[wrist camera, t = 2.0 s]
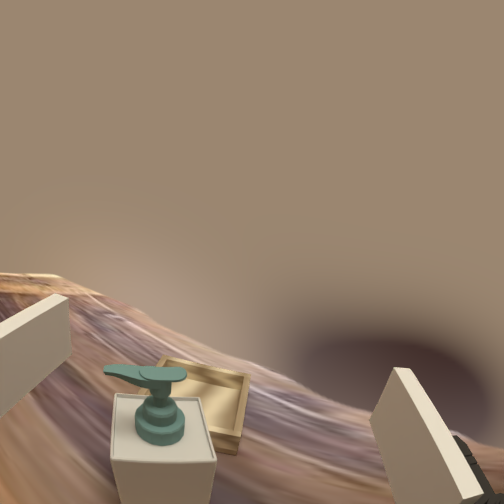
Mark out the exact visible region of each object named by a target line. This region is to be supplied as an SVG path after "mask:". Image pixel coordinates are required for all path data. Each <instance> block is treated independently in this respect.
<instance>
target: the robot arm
mask: <svg viewBox="0 0 504 504" xmlns="http://www.w3.org/2000/svg"><path fill="white" fill-rule="evenodd" d="M71 355H72V347H71V336H70V321H69V298H67V297H64V296H61V295H59V294H56V293H55V294H53V295H51V296H49V297H47V298H45V299H43V300H41V301H40V302H38V303H36V304H34V305H32V306H30V307H28V308H27V309H25V310H23V311H21V312H19V313H17V314H16V315H14V316H12V317H10V318H8V319H7V320H5V321H3V322H1V323H0V418H1V417H2V416H3V415H4V414H6V413H7V412H8V411H9V410H10V409H11V408H12V407H13V406H14V405H15V404H16V403H18V402H19V401H20V400H21V399H22V398H23V397H24V396H25V395H26V394H27V393H29V392H30V391H31V390H32V389H33V388H34V387H35V386H36V385H38V384H39V383H40V382H41V381H42V380H43V379H44V378H45V377H47V376H48V375H49V374H50V373H51V372H52V371H53V370H55V369H56V368H57V367H58V366H59V365H60V364H61V363H63V362H64V361H65V360H66V359H67V358H68V357H69V356H71ZM369 421H370V424H371V427H372V430H373V433H374V436H375V439H376V442H377V445H378V448H379V451H380V455H381V458H382V461H383V464H384V467H385V471H386V474H387V477H388V480H389V484H390V487H391V490H392V494H393V497H394V501H395V504H504V494H502V493H499V494H495V493H494V491H493V489H492V488H491V486H490V484H489V482H488V480H487V479H486V477H485V475H484V473H483V471H482V470H481V468H480V466H479V465H477V461H476V459H475V458H474V456H472V453H471V451H470V449H469V448H468V446H467V444H466V443H465V442H463V441H462V440H461V439H460V438H459V437H458V436H457V435H455V436H452V435H451V433H450V432H449V430H448V428H447V427H446V425H445V423H444V422H443V420H442V418H441V417H440V415H439V413H438V412H437V410H436V408H435V407H434V405H433V404H432V402H431V400H430V399H429V397H428V396H427V394H426V393H425V391H424V389H423V388H422V387H421V385H420V383H419V382H418V380H417V379H416V377H415V375H414V374H413V372H412V371H411V369H407V368H396V367H394V368H393V370H392V373H391V375H390V377H389V380H388V382H387V384H386V386H385V388H384V391H383V393H382V395H381V398H380V399H379V401H378V403H377V406H376V408H375V410H374V412H373V414H372V416H371V418H370V419H369Z"/></svg>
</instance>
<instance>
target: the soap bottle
mask: <svg viewBox="0 0 504 504" xmlns="http://www.w3.org/2000/svg"><path fill="white" fill-rule="evenodd" d="M103 372H104V373H105V375H110V376H115V377H118V378H120V379H123V380H125V381H127V382H129V383H132V384H134V385H136V386H139V387H142V388H146V389H149V391H150V393H151V395H150V396H148V395H133V394H121V393H115V395H114V404H113V415H112V429H111V446H110V460H111V465H112V469H113V474H114V478H115V482H116V486H117V490H118V494H119V497H120V501H121V504H209V502H210V496H211V491H212V485H213V480H214V475H215V469H216V464H217V457H216V454H215V451H214V447H213V444H212V440H211V437H210V433H209V430H208V426H207V422H206V418H205V415H204V411H203V407H202V403H201V399H200V398H199V397H170V396H169V395H170V394H171V386H172V382H181V381H183V380H185V379H186V377H187V372H186V370H185V369H184V368H182V367H154V366H135V365H124V364H113V365H106V366H104V370H103Z"/></svg>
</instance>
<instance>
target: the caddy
mask: <svg viewBox="0 0 504 504" xmlns="http://www.w3.org/2000/svg"><path fill="white" fill-rule="evenodd" d="M155 367H182V368H184V369H185V370H186V372H187V377H186V379H185V380H183V381H181V382H172V386H171V394H170V395H169V396H170V397H199V398H200V399H201V403H202V407H203V411H204V415H205V418H206V422H207V426H208V430H209V433H210V437H211V440H212V444H213V447H214V451H216V452H221V453H226V454H231V455H236V454H237V450H238V446H239V442H240V438H241V432H242V426H243V420H244V414H245V408H246V402H247V396H248V390H249V383H250V377H251V374H246V373H241V372H236V371H231V370H226V369H221V368H217V367H212V366H208V365H203V364H199V363H195V362H190V361H186V360H182V359H178V358H174V357H171V356H167V355H163V356H162V357H161V359H160V360H159V362H158V363H157V365H156V366H155ZM136 395H148V396H150V395H151V393H150V391H149V389H146V388H142V387H141V388H140V390H139V391H138V393H137V394H136Z"/></svg>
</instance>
